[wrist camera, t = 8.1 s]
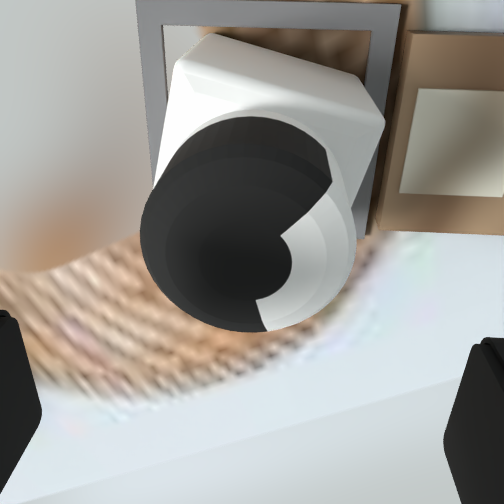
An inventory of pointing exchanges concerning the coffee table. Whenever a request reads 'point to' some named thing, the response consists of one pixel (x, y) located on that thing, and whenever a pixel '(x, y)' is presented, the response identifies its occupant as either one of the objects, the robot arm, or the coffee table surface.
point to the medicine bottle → (257, 185)
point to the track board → (446, 137)
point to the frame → (267, 16)
